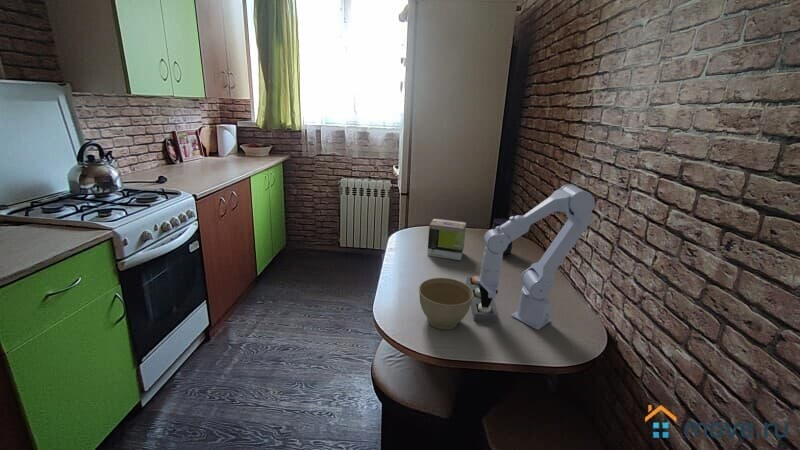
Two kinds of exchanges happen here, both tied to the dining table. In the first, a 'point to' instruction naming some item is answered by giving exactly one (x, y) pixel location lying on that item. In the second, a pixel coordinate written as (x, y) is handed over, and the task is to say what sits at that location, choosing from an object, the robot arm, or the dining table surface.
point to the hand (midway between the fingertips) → (484, 306)
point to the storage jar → (498, 223)
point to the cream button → (484, 309)
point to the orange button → (474, 280)
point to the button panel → (475, 303)
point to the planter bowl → (445, 301)
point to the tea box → (446, 239)
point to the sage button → (477, 293)
